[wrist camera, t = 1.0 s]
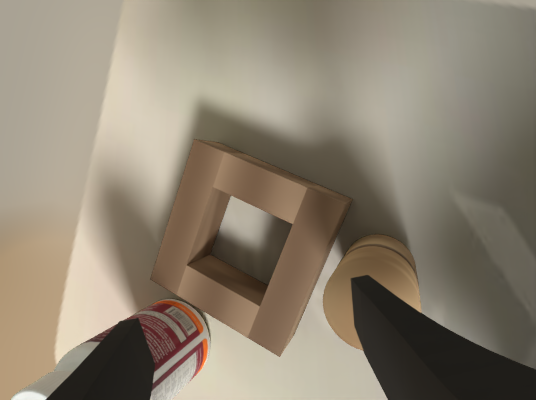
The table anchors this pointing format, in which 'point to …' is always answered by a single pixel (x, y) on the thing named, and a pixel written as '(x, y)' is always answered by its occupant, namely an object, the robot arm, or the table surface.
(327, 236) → the board
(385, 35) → the table surface
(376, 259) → the peg
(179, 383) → the pill bottle
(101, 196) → the table surface
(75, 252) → the table surface
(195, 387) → the table surface
